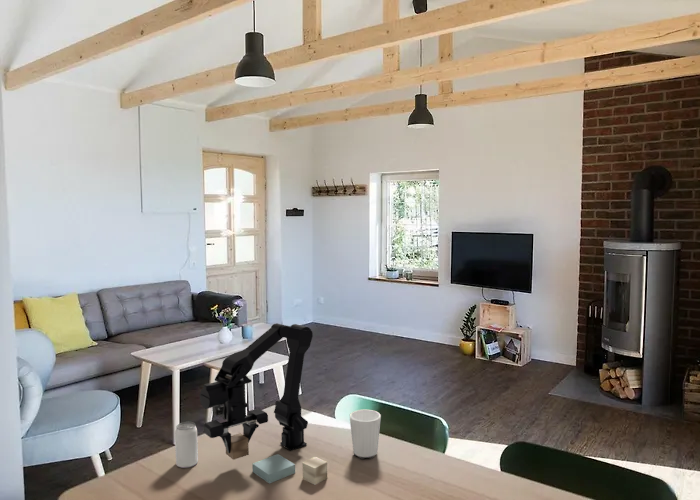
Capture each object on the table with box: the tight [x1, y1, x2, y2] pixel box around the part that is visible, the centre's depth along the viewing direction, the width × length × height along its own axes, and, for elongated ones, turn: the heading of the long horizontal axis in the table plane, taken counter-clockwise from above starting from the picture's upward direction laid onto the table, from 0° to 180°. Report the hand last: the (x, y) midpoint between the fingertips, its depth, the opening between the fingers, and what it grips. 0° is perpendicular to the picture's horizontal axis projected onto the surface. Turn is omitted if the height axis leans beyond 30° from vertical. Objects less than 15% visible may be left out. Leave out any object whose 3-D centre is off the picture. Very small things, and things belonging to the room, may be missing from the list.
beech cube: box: [302, 456, 328, 486], centre depth 155 cm, size 5×5×5 cm
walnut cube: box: [225, 432, 250, 461], centre depth 162 cm, size 5×5×5 cm
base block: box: [252, 453, 296, 485], centre depth 159 cm, size 9×9×3 cm
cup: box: [349, 408, 382, 460], centre depth 169 cm, size 10×10×13 cm
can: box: [174, 421, 199, 469], centre depth 164 cm, size 6×6×12 cm
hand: (237, 450), depth 162 cm, fingers closed on walnut cube, 5 cm apart
